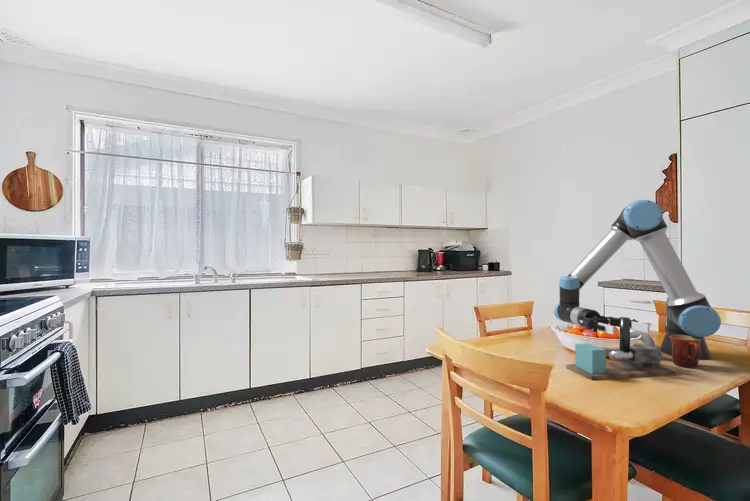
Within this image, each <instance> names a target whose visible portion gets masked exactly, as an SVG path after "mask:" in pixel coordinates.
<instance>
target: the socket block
mask: <svg viewBox="0 0 750 501" xmlns="http://www.w3.org/2000/svg"><path fill="white" fill-rule="evenodd" d="M574 347H575V357H574V358H575V362H574V364H575V366H576V367H578V368H581V369H583V370H585V371H587V372H589V373H592V374H598V373H606V362H607V354H606V353H607V350H606V348H605V349H604V348H602V347H599V346H596V345H595V344H590V343H575V346H574Z"/></svg>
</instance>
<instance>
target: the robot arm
mask: <svg viewBox="0 0 750 501" xmlns="http://www.w3.org/2000/svg"><path fill="white" fill-rule="evenodd" d="M667 231H668V225H667V223H666V220H664V214H663V210H662V208H661V206H660V205H659V204H658V203H657V202H655V201H652V200H650V199H648V200H647V199H639V200H636V201H635V200H634V201H633V202H631V203H629V204H628V205H627V206H625V207H624V208H623V209H622V210H621V212H620V214H619V215H618V217H617V218H616V219H615V220H614V222H613V223H612V224H611V225H610V230H609V231H608V232H607V233H606V234H605V235H604V236H603V237H602V238H601V239H600V241H598V243H596V245H595V246H594V247H593V248H592V249H591V250H590V252H589V253H588V254H587V255H586V256H584V258H583V259H582V260H581V261H580V262H579V263H578V264H577V265H576V266H575V268H573V270H571V271H570V273H569V274H568V275H567V276H561V277H559V284H558V286H559V303H558V304H556V305H555V307H554V309H553V313H554V316H555V317H556V319H558V320H559V321H563V322H564V323H568V324H571V325H572V324H573V325H575V326H578V327H579V328H585V329H586V330H589V331H590V330H592V332H595V333H597V332H598V331H599V332H603V333H607V334H609V335H615V332H616V331H615V330H616V329H615V327H619V328H620V317H615V316H605V315H601V314H600V312H598V311H597V310H595V309H590V308H587V307H582V306H580V295H581V294H580V291H581V289H582V288H583V287H584V286H585V285H586V284H587V282H588V281H589V280H590V279H591V278H592V277H593V276H594V275H595V274H596V273H598V271H599V270H600V269H601V268H602V267H603V266H604V265H605V264H606V263H607V262H608V261H609V260H610V259H611V258H612V257H613V256H614V254H616V253H617V252H618V251H619V249H620V248H622V247H623V246H624V245H625V243H626V242H627V241H632V240H633V241H635V242H636V241H637V242H639V243H640V245H641V247H642V249H643V251H644V253H645V255H646V257H647V259H648V261H649V262H650V264H651V267H652V268H653V270H654V272H655V274H656V276H657V278H658V280H659V282H660V284H661V286H662V288H663V290H664V291H665V293H666V295H667V298H666V300H665V301H666V302H665V307H666V312H665V313H666V314H665V316H666V318H665V320H666V322H665V323H666V324H665V326H666V328H665V330H666V331H665V335H664V336H663V337H664V338H663V340H662V343H661V344H660V348H661V352H662V353H664V354H667V355H670V356H672V341H671V338H670V335H687V336H693V337H697V338H700V339H701V342H700V344H699V345H700V346H701V356H700V358H699V360H705V359H709V358H710V357H711V352H710V350H709V347H708V345H707V344H708V343H707V342H706V339H705V338H706V337H710V336H712V335H714V334H715V333H717V332H718V331H719V329H720V327H721V324H722V320H721V319H722V318H721V316H720V315H719V313H718V312H717V311H716V310H715V309H714V308H712V306H711V305H710V303H709V300H708V299H707V297H706V295H705V294H704V293H701V292H699V291H698V290H697V289H696V287H695V286H694V284H693V282H692V280H691V278H690V276H689V275H688V272H687V271H686V269H685V267H684V265H683V262H682V261H681V260H680V257H679V256H678V254H677V252H676V250H675V248H674V247H673V245H672V243H671V241H670V239H669V237H668V236H667V234H666V233H667ZM650 326H651V325H650V324H647V323H643V322H639V320H636V319H634V318H633V319H630V329H631V330H633V331H641V332H645V333H646V334H650V332H651V331H650V329H651V328H650Z"/></svg>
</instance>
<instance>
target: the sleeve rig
mask: <svg viewBox="0 0 750 501" xmlns="http://www.w3.org/2000/svg"><path fill="white" fill-rule="evenodd" d="M630 350H633V351H634V359H627V360H620V361H610V362H609V361H608V362H607V361H606V373H598V374H592V373H589V372H587V371H585V370H583V369H581V368H578V367H576V366H575V363H573V364H566V365H565V366H566V367H565V368H566V369H567V370H570V371H572V372H574V373H576V374H578V375H580V376H583V377H584V378H586V379H588V380H590V379H591V381H596V380H597V379H598V380H612V379H613V378H614V379H626V378H628V379H629V378H642V377H643V378H644V377H654V376H655V377H657V376H673V375H676V374H677V373H676V370H674V369H672V368H671V369H670V368H668V367H665V366H663V365H660V363H661V361H662V360H661V359H662V358H661V357H662V356H661V352H662V351H661V347H657V346H655V347H654V346H650V345H644V344H638V345H636V346H630ZM611 378H612V379H611Z"/></svg>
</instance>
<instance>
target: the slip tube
mask: <svg viewBox="0 0 750 501" xmlns="http://www.w3.org/2000/svg"><path fill="white" fill-rule="evenodd" d="M619 318H620V327H619V350H610V351H609V352H608V358H609V359H610V360H611V361H625V360H627V359H634V351H633V350H630V332H631V328H630V320H631V317H626V316H620V317H619ZM662 356H663V352H662V351H661V357H662Z"/></svg>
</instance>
